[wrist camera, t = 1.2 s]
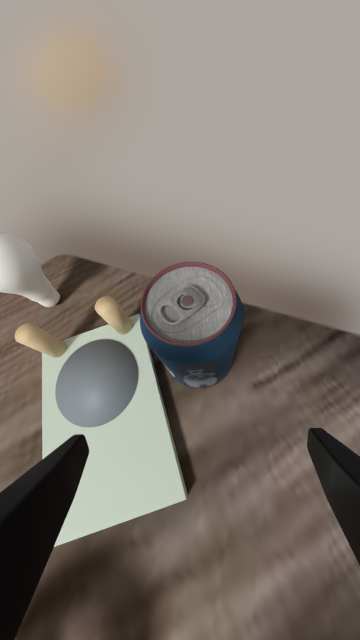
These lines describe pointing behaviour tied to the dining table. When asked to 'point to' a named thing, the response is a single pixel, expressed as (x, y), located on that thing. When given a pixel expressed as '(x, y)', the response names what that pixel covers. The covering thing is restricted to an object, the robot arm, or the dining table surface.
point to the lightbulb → (23, 272)
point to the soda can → (192, 322)
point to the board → (108, 420)
